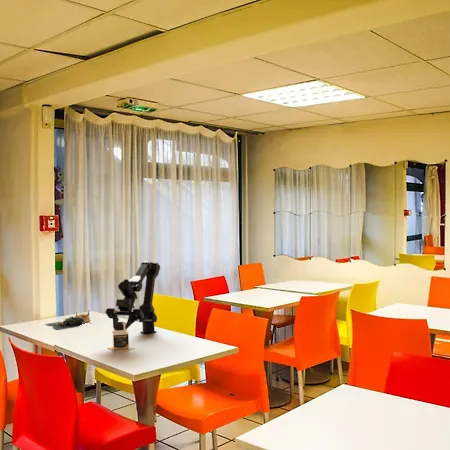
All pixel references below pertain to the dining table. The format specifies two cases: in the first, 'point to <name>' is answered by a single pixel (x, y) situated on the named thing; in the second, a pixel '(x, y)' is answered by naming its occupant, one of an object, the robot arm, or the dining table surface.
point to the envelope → (121, 349)
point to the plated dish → (71, 322)
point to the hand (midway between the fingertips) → (119, 328)
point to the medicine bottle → (120, 336)
